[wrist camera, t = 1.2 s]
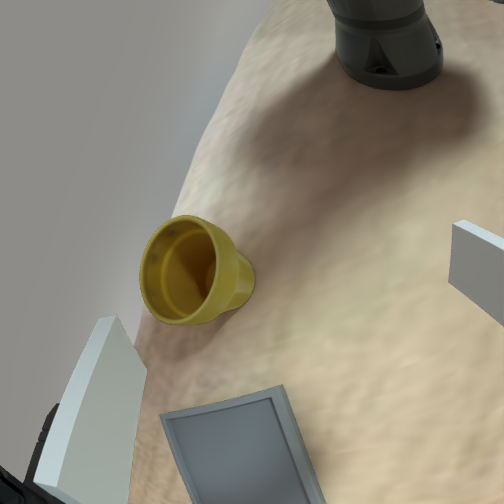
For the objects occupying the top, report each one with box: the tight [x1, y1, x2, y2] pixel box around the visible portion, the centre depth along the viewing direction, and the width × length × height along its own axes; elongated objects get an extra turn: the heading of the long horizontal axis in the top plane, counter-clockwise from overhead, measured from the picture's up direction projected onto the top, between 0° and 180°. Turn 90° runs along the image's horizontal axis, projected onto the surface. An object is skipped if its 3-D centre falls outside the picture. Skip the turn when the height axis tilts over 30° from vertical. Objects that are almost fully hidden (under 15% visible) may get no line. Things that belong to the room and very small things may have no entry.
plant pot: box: [139, 215, 255, 325], centre depth 31 cm, size 10×10×10 cm
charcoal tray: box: [160, 384, 326, 504], centre depth 28 cm, size 20×18×2 cm
